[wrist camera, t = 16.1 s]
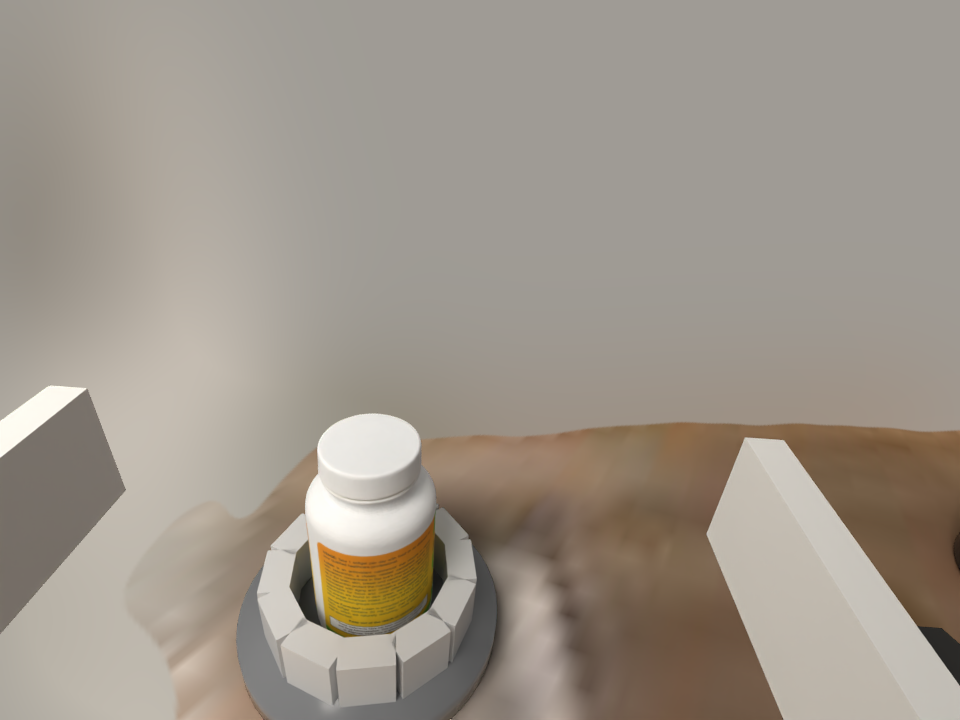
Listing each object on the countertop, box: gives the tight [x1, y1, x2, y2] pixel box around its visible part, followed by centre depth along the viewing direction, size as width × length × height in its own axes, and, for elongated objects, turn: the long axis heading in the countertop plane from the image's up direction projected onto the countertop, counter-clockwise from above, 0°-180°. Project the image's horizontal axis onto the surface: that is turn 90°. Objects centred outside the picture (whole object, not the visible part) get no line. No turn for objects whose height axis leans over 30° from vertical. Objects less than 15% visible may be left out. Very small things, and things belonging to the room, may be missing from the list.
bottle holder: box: [236, 504, 497, 720], centre depth 29 cm, size 14×14×4 cm
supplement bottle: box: [305, 414, 436, 638], centre depth 27 cm, size 6×6×11 cm
